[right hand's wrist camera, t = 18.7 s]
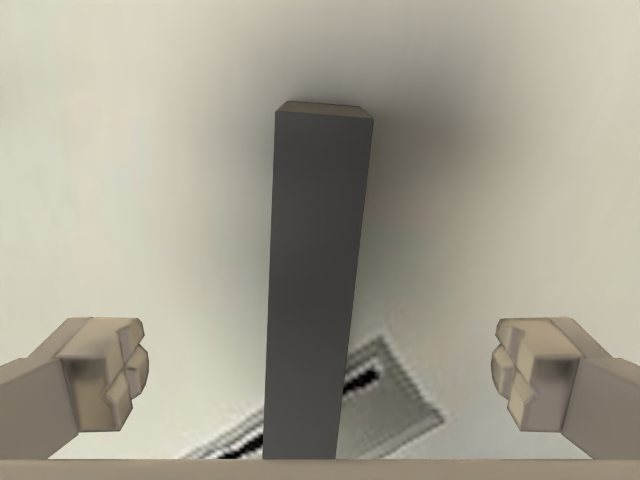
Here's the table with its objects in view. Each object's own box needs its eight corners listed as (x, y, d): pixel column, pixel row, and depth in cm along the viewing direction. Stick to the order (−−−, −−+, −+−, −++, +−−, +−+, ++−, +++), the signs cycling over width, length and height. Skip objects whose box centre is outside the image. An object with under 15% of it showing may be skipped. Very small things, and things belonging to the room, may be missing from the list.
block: (286, 100, 32) (275, 110, 24) (360, 106, 33) (373, 118, 24) (272, 406, 42) (261, 487, 34) (329, 409, 43) (331, 491, 34)
